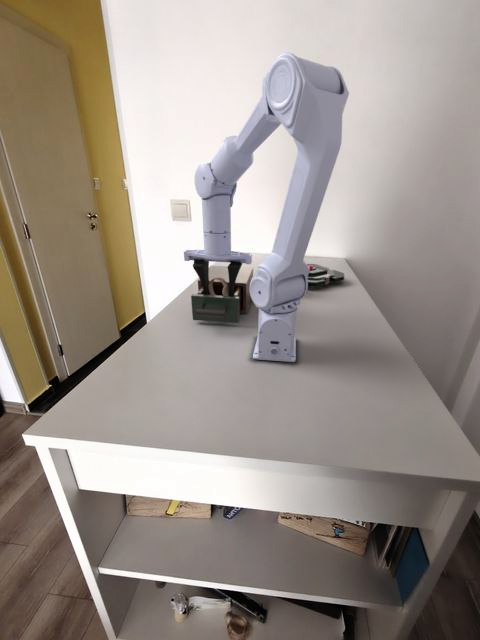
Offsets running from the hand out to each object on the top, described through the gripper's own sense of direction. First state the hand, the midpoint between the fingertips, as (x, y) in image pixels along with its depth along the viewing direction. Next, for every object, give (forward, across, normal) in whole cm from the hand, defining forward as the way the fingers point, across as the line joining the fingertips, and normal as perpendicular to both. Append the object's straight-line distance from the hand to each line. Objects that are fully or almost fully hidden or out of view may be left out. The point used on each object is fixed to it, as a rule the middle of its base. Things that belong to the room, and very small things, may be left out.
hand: (219, 293), depth 76 cm
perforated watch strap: (+2, 0, 0) cm, 2 cm away
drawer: (+5, 0, +1) cm, 5 cm away
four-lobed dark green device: (+6, -22, -34) cm, 41 cm away
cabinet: (+6, 0, -10) cm, 12 cm away
